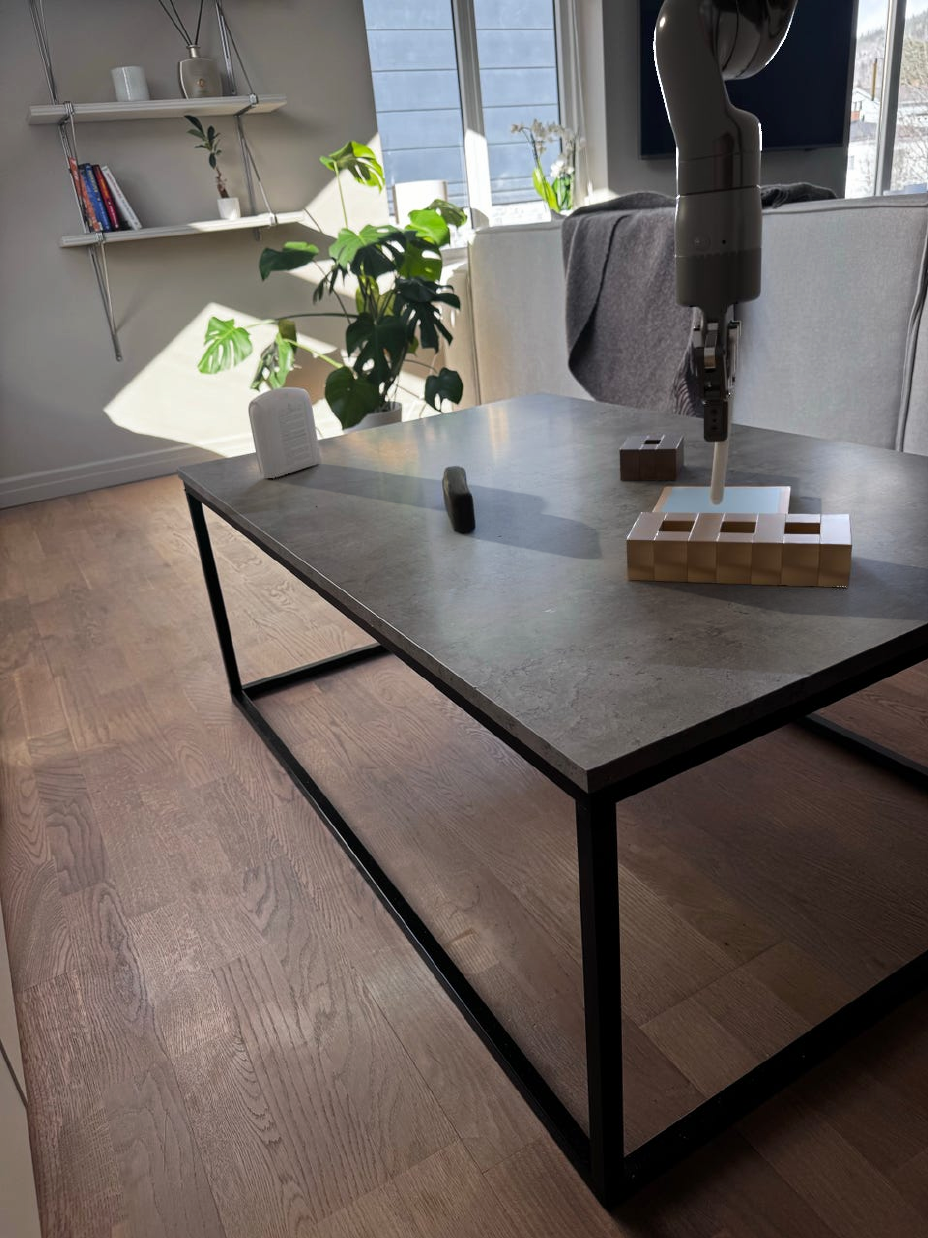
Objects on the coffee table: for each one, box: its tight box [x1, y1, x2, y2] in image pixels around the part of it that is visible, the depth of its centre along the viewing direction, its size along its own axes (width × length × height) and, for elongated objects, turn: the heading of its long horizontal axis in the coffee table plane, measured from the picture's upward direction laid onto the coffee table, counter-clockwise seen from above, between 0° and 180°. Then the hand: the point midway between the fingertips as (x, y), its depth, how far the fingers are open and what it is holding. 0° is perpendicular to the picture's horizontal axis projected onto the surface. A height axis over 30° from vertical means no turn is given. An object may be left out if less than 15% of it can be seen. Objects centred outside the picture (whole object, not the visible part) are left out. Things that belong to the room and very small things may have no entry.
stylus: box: [710, 387, 735, 505], centre depth 86 cm, size 1×1×12 cm
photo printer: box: [247, 386, 322, 479], centre depth 132 cm, size 10×4×12 cm, turn 140°
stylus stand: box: [618, 434, 685, 481], centre depth 113 cm, size 7×7×4 cm
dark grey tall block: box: [441, 465, 477, 533], centre depth 105 cm, size 5×3×15 cm
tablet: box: [652, 486, 792, 514], centre depth 95 cm, size 14×18×1 cm
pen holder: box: [625, 511, 853, 588], centre depth 82 cm, size 19×8×4 cm, turn 70°
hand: (716, 437), depth 86 cm, fingers closed on stylus, 1 cm apart
